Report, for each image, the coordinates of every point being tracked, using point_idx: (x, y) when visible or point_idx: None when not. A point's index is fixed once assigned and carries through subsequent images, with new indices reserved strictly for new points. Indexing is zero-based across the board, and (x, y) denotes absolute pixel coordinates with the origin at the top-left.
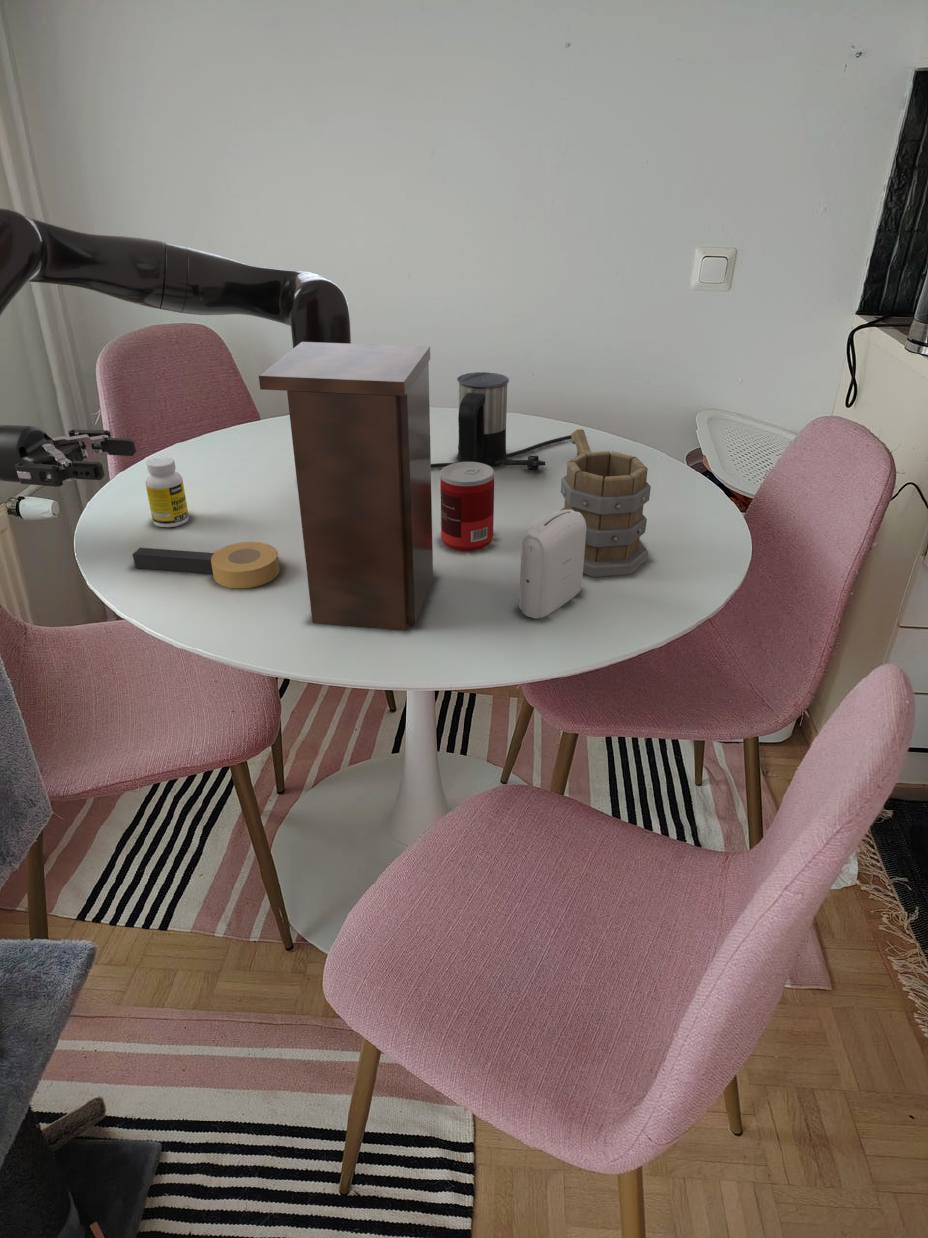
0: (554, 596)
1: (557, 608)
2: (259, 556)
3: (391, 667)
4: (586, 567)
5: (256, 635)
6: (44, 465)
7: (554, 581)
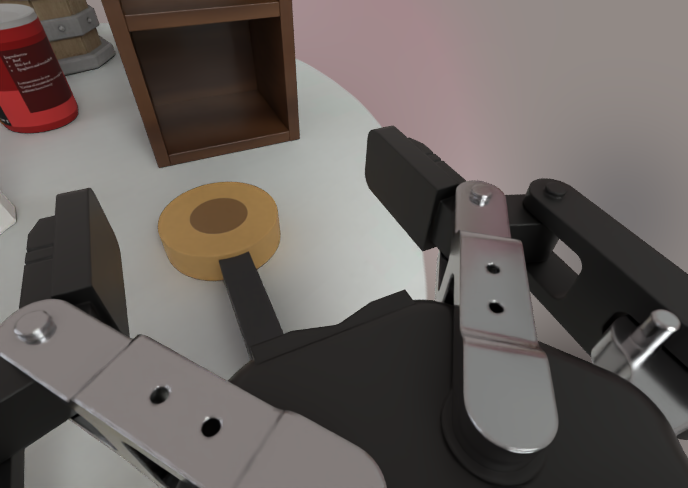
0: None
1: None
2: (210, 200)
3: (323, 87)
4: (108, 49)
5: (353, 158)
6: (591, 231)
7: None
